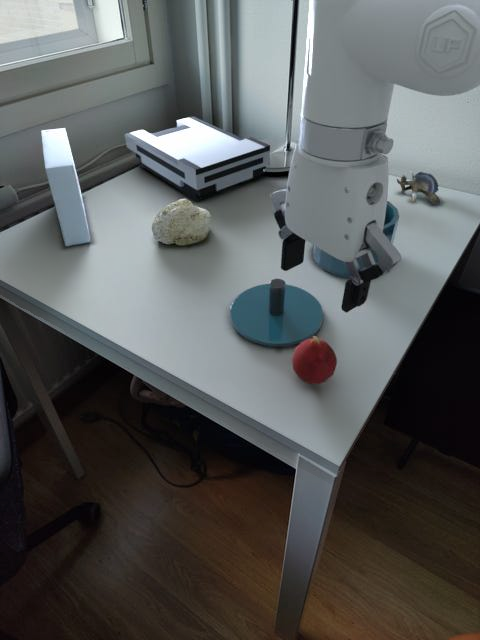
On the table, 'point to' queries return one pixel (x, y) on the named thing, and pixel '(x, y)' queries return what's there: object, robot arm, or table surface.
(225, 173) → the game console
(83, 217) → the skincare box
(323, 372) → the red pomegranate
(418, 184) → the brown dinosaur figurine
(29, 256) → the table surface
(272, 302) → the lid
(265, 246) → the table surface
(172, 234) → the decorative item
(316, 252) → the pot
